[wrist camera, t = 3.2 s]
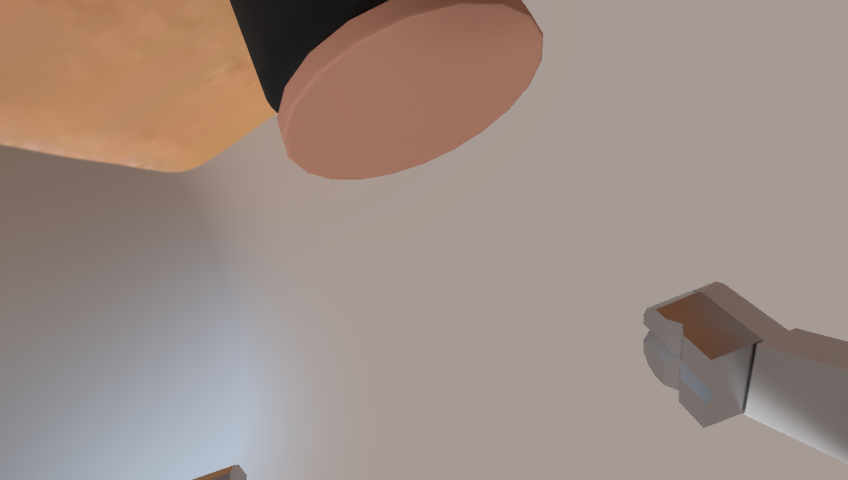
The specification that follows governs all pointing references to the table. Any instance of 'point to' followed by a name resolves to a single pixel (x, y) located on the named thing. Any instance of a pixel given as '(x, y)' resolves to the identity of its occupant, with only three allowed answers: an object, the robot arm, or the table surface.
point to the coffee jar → (386, 76)
